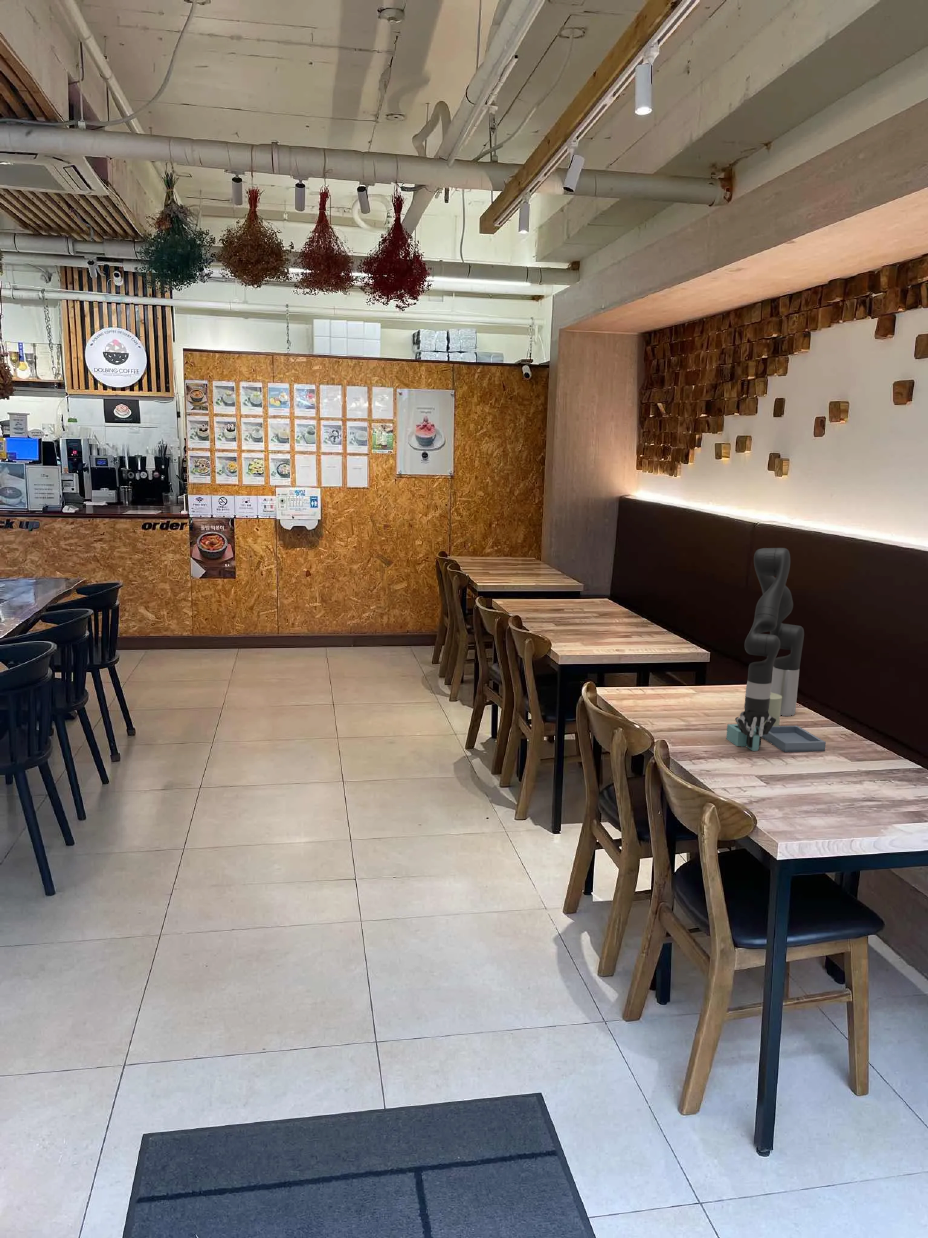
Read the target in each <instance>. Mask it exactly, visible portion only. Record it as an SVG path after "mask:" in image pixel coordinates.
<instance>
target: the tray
mask: <svg viewBox="0 0 928 1238" xmlns="http://www.w3.org/2000/svg"><path fill="white" fill-rule="evenodd" d="M762 739H764V740H765V741H767V742H768V743H769V744H771V743H772V744H771V745H773V746H774V745H775V746H774V747H776V748H777V749H779V750H780V749H781V751H782V752H783V751H784V753H803V752H807V753H809V752H826V744H827V742H826V741H824V740H823V739H821V737H818V736H816V735H815V734H812V733H811V732H809V731H808V730H806V729H804V728H803V727H801V726H799V725H779V726H772V728H771V729H770V731H769V732H768V734H767V735H766V734H765V735H763V736H762Z"/></svg>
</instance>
